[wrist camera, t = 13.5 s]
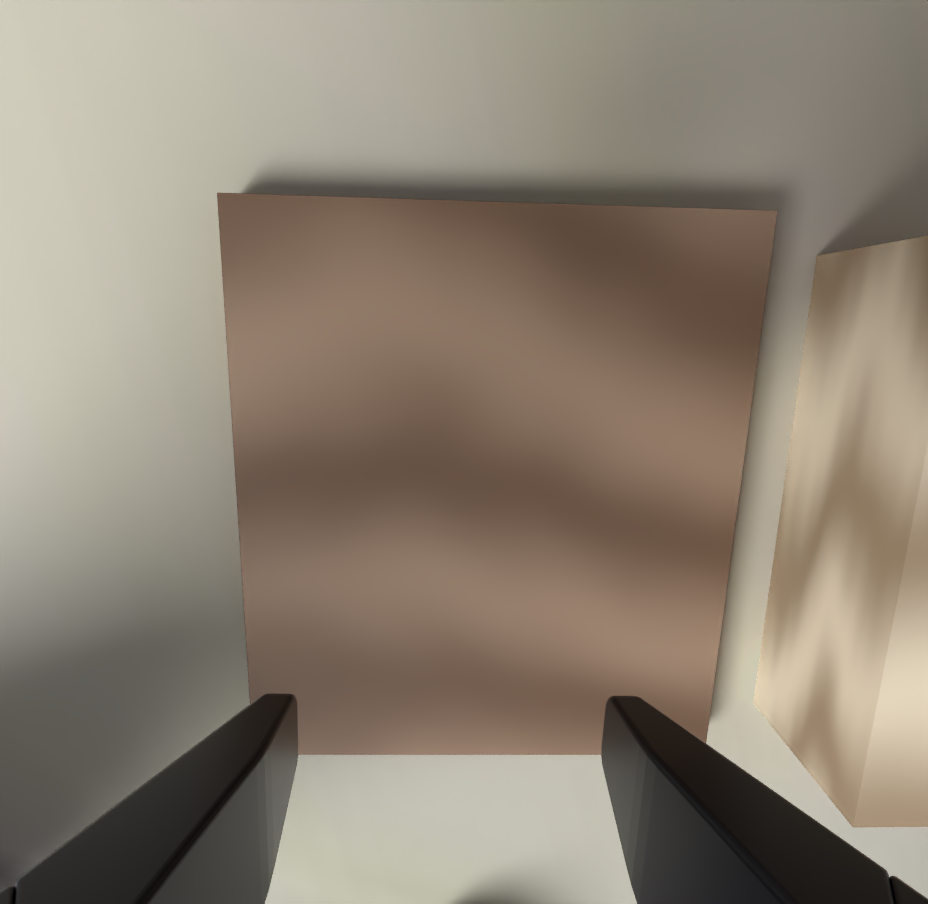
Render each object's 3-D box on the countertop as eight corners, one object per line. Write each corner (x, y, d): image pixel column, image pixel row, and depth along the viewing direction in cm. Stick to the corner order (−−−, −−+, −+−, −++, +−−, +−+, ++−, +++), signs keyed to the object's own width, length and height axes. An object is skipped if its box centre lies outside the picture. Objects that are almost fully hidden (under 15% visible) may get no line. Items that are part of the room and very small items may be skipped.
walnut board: (691, 732, 19) (704, 754, 18) (263, 731, 19) (253, 754, 18) (757, 217, 16) (777, 210, 15) (232, 201, 15) (217, 192, 14)
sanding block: (867, 698, 19) (1009, 825, 14) (750, 698, 19) (852, 827, 14) (951, 259, 16) (1168, 232, 11) (812, 256, 16) (969, 227, 11)
